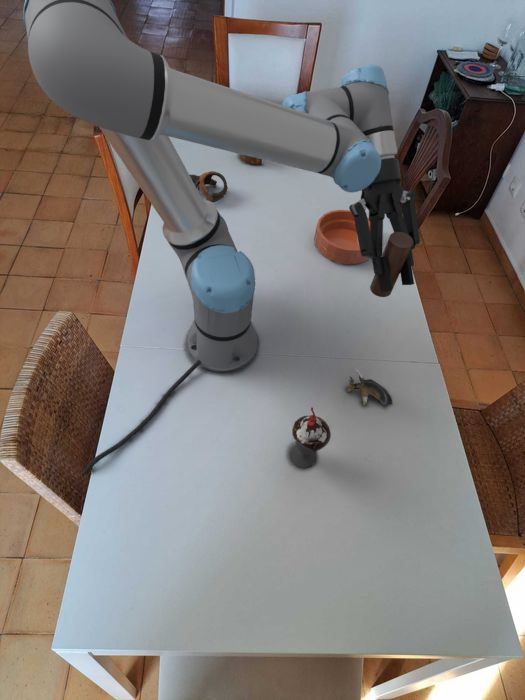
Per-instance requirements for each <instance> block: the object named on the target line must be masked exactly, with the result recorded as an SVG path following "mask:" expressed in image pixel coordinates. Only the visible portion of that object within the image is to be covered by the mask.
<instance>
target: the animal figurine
mask: <svg viewBox="0 0 525 700" xmlns="http://www.w3.org/2000/svg"><path fill="white" fill-rule="evenodd" d="M355 371H356V373H357V375H358V379H359V382H357V383H355V379H354V378H353V377H352V376H351V375H350V376H349V378H350V379H349V380H348V381H349V382H348V383H349V386H348V389H347V393H351V392H353V391H355V390H357V391H358V390H360V394H361V398H362V406H365V405H366V404H367V402H368V395H370V396H374V397H375V398H376V400H378V401H379V402H380V403H381V404H382V405H383V406H392V405H393V398H392V397H391V394H389V392H388V391H387V390H386V388H385V387H383V386H382V385H381V384H379V382H377V381H375V380H374V379H371V378H365V377H364V376H363V375H362V374H361V373H360V371H359V370H358V368H355Z"/></svg>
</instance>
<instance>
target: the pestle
mask: <svg viewBox="0 0 525 700" xmlns="http://www.w3.org/2000/svg"><path fill="white" fill-rule="evenodd" d="M412 245H413V239H412V238H411V237H410V236H409V235H408V234H406V233H403V232H394V231H393V232H392V233H391V234H390V235H389V236H388V239H387V242H386V245H385V247H384V250H383V251H382V256H381V257H383V256H387V262H388V268H389V274H390V280H391V286H392V290H391V291H380V285H379V279H378V275H375V274H374V276H373V278H372V280H371V283H370V285H369V289H370V292H371V294H373V295H374V296H376V297H379V298H387V297H389V296H390V295H392V292H393V290H394V287H395V285H396V283H397V281H398V279H399V276H400V275H401V274H400V272H401V270H402V267H403V265H404V263H405V261H406V258H407V256H408V254H409V252H410V250H411V247H412Z"/></svg>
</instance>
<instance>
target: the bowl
mask: <svg viewBox="0 0 525 700" xmlns="http://www.w3.org/2000/svg"><path fill="white" fill-rule="evenodd" d="M367 219H368V224H369V230H370V221H369V216H367ZM313 243H314V247H315V248H316V249H317V251H318V252H319V253H320V254H321V255H322V256H324V258H326V259H328V260H330V261H332V262H335V263H339V264H343V265H356V264H361V263H364V262H366V261H367V260H370V258H368V257H363V256H362V255H361V251H360V246H359V241H358V236H357V231H356V225H355V220H354V217H353V215H352V213H351V211H350V209H334V210H330V211H327V212H325V213H323V214H322V215H321V217H319V218H318V221H317V223H316V227H315V232H314V237H313Z"/></svg>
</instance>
